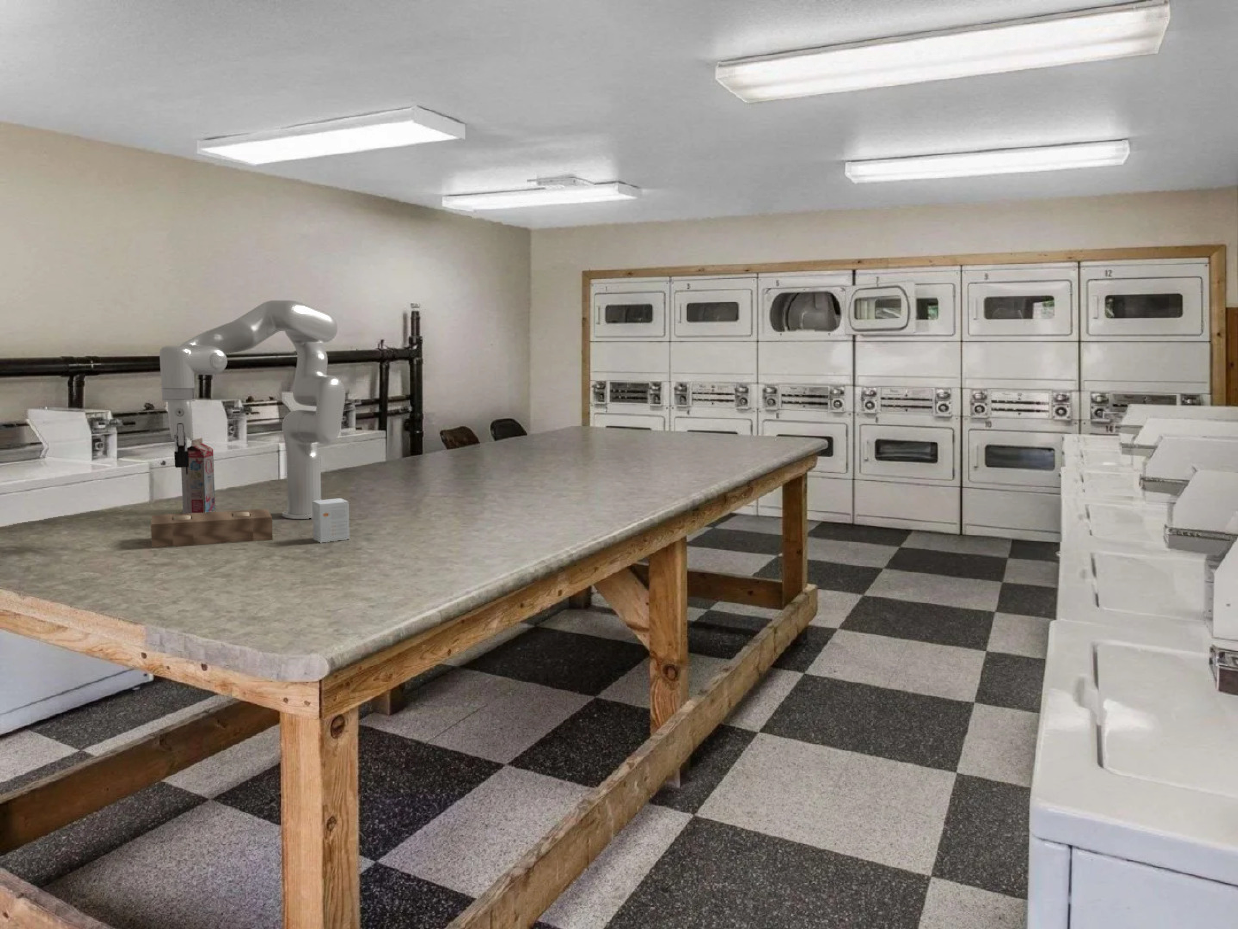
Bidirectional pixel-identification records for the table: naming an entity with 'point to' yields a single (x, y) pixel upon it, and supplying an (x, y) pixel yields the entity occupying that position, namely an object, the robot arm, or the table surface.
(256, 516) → the press block
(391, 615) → the table surface
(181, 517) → the peg
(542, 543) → the table surface
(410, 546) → the table surface
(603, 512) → the table surface
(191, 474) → the juice carton
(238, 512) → the peg
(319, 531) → the small box
